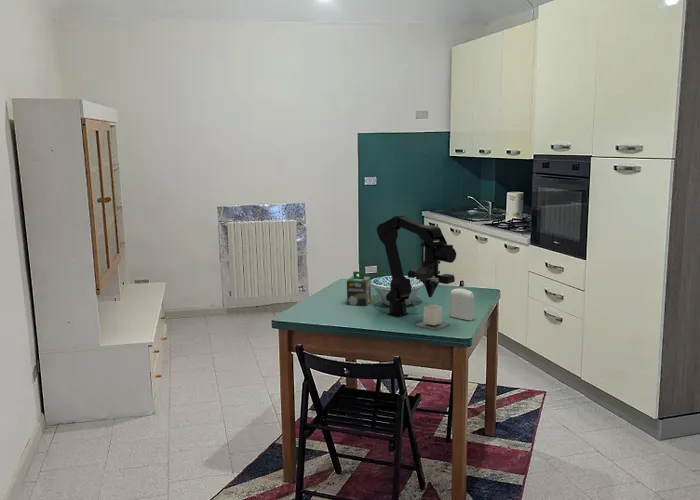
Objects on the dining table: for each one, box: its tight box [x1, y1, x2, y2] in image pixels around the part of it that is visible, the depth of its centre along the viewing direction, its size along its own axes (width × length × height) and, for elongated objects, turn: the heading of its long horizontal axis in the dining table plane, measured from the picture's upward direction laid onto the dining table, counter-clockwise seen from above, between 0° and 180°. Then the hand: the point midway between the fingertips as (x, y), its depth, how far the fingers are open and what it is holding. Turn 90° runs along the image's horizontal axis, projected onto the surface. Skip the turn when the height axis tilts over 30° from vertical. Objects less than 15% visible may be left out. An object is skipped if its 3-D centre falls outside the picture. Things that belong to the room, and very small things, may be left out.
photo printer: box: [449, 288, 475, 321], centre depth 262 cm, size 10×4×12 cm, turn 47°
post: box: [414, 320, 451, 331], centre depth 253 cm, size 10×10×7 cm
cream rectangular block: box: [423, 303, 443, 325], centre depth 253 cm, size 5×5×7 cm
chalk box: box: [346, 271, 372, 307], centre depth 286 cm, size 9×9×15 cm
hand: (430, 297), depth 254 cm, fingers closed
